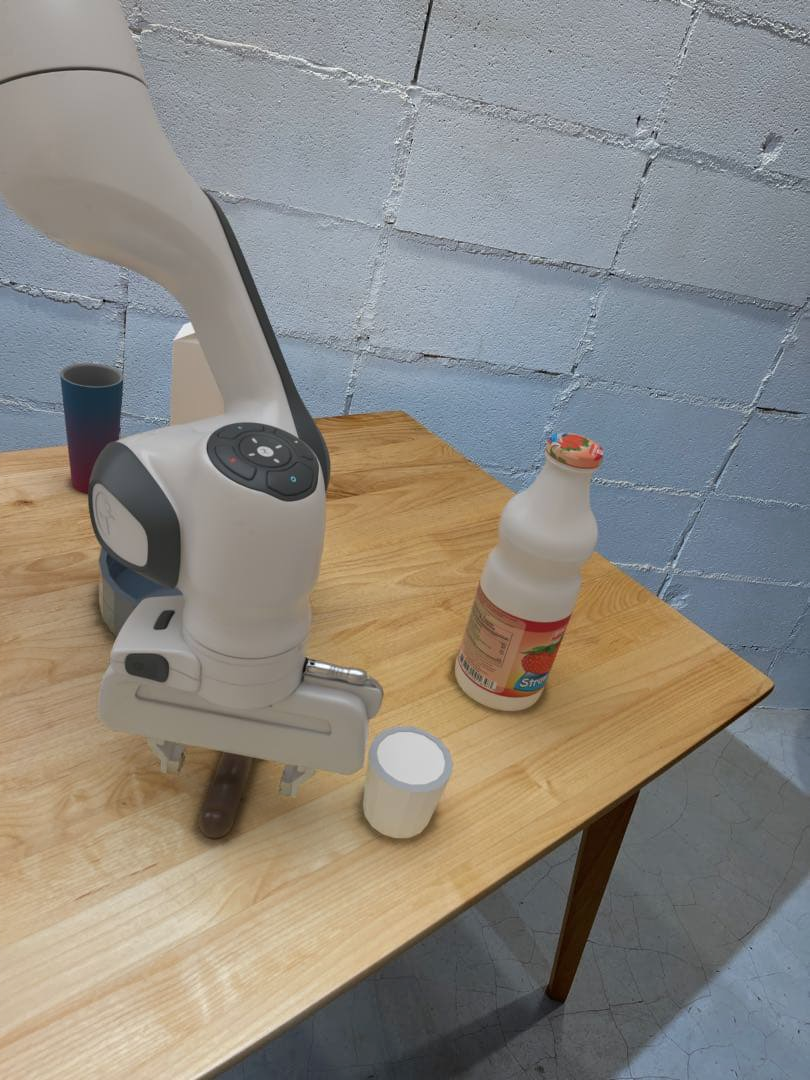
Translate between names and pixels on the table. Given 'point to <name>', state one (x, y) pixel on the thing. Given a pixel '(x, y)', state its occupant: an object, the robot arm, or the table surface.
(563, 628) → the fruit juice
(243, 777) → the brown bar
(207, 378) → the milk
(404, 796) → the shot glass
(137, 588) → the bowl
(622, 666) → the table surface
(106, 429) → the cup
